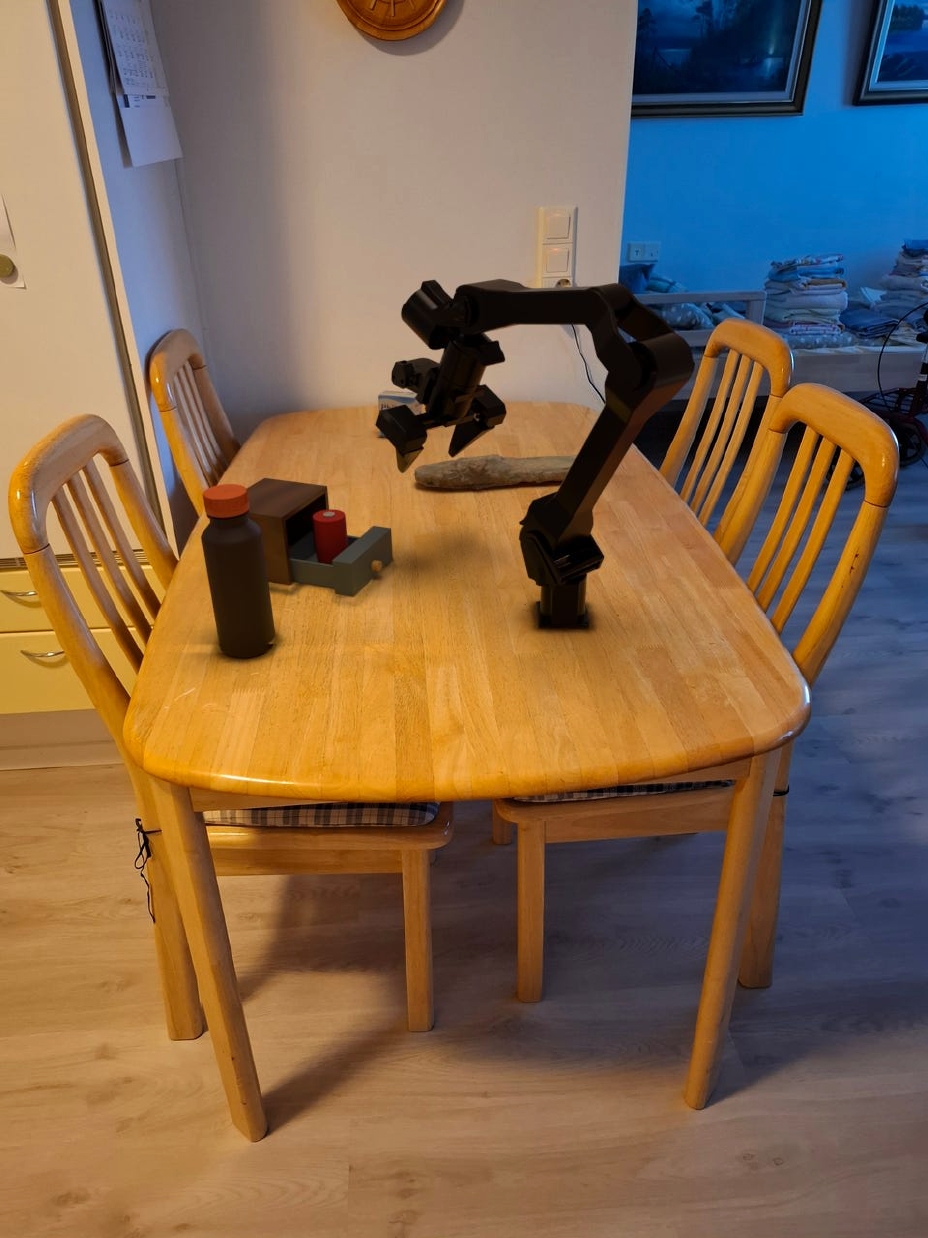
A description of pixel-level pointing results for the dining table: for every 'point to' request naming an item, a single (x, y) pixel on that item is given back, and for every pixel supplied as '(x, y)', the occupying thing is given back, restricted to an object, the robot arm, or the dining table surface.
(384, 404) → the medicine box
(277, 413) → the dining table surface
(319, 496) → the cubby
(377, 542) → the drawer
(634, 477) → the dining table surface
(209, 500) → the bottle
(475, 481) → the elongated rock
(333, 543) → the roller
